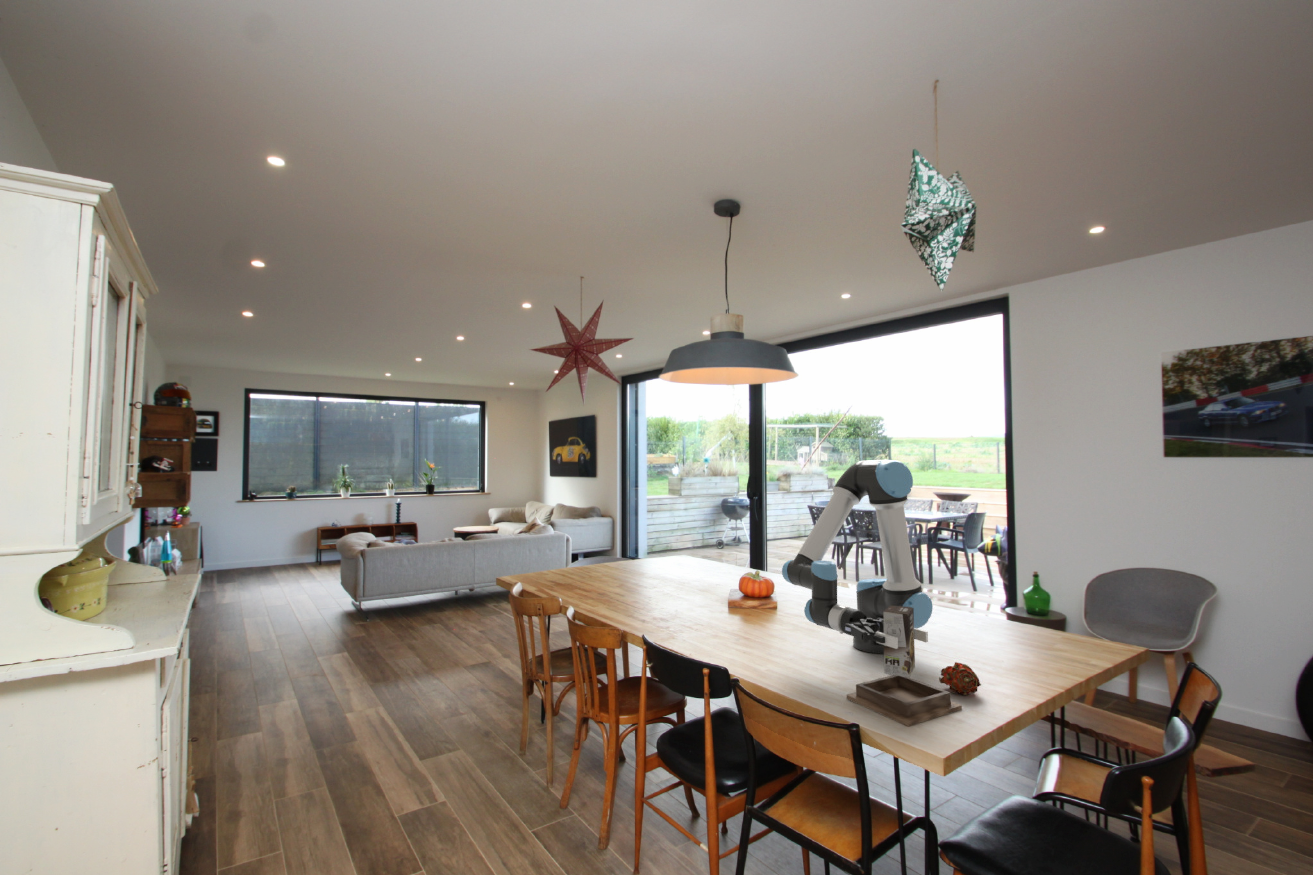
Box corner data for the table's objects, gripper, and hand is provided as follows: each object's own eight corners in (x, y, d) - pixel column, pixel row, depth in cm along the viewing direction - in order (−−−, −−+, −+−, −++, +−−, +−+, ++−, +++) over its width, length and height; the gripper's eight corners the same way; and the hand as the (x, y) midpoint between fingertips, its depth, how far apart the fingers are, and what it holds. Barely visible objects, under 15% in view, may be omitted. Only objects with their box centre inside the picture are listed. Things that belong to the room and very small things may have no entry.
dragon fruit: (977, 707, 161) (943, 697, 172) (994, 684, 164) (960, 676, 175) (958, 682, 161) (926, 674, 172) (976, 659, 164) (943, 653, 175)
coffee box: (909, 678, 155) (908, 614, 156) (883, 673, 158) (882, 611, 159) (916, 667, 163) (914, 606, 163) (890, 663, 166) (889, 604, 167)
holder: (898, 684, 174) (897, 670, 174) (961, 709, 156) (961, 693, 156) (846, 698, 164) (846, 683, 165) (908, 726, 147) (907, 709, 147)
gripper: (877, 628, 182) (942, 648, 162) (818, 639, 171) (880, 661, 152) (876, 603, 182) (941, 619, 163) (818, 612, 172) (879, 631, 152)
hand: (912, 640), depth 157 cm, fingers closed on coffee box, 11 cm apart
